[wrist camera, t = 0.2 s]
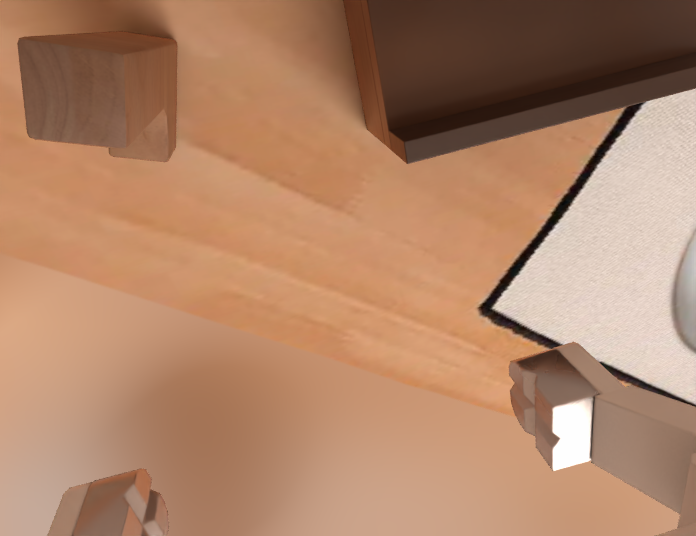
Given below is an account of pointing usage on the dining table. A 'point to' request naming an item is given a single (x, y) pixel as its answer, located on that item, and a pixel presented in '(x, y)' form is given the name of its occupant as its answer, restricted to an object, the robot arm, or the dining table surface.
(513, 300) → the dining table surface
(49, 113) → the wooden block
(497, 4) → the wooden box with backboard
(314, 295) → the dining table surface
